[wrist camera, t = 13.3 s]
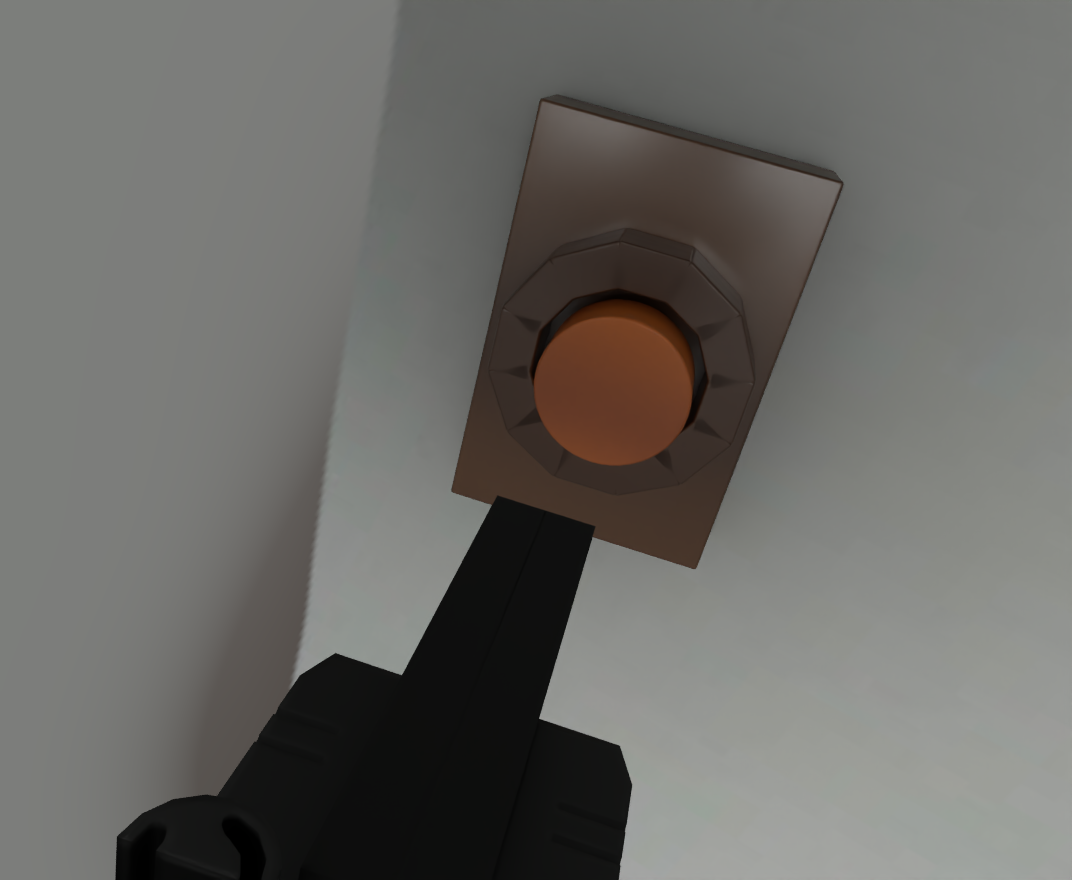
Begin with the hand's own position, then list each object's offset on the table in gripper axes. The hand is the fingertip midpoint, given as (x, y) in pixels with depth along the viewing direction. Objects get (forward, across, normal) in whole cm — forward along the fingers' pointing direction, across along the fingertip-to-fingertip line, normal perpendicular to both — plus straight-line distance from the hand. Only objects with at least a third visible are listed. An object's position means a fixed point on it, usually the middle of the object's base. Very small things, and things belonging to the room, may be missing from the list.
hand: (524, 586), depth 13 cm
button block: (+15, 0, -1) cm, 15 cm away
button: (+12, 0, -1) cm, 12 cm away
